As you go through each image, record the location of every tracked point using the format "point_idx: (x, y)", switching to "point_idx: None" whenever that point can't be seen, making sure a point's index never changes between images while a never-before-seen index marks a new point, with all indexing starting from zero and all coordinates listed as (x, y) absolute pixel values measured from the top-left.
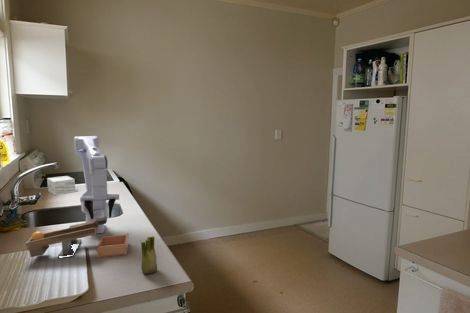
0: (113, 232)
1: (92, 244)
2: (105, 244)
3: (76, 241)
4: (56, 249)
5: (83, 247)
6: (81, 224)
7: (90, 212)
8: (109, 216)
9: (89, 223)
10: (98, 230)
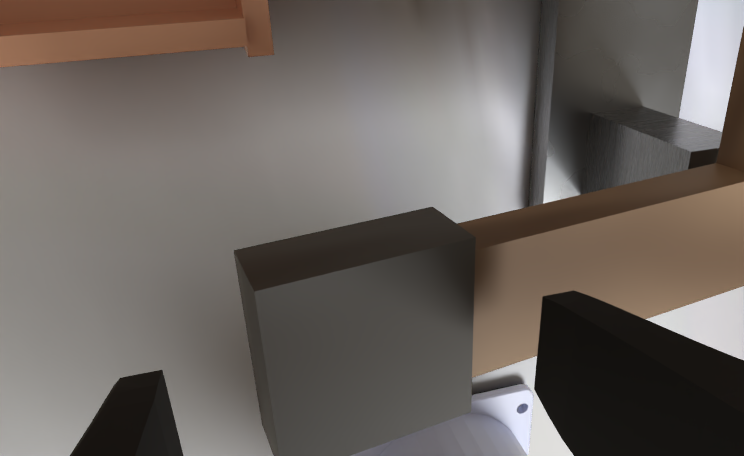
0: (237, 443)
1: (396, 117)
2: (202, 9)
3: (583, 165)
4: (739, 30)
5: (482, 36)
6: (669, 258)
7: (708, 371)
8: (142, 390)
9: (557, 252)
10: (405, 445)
